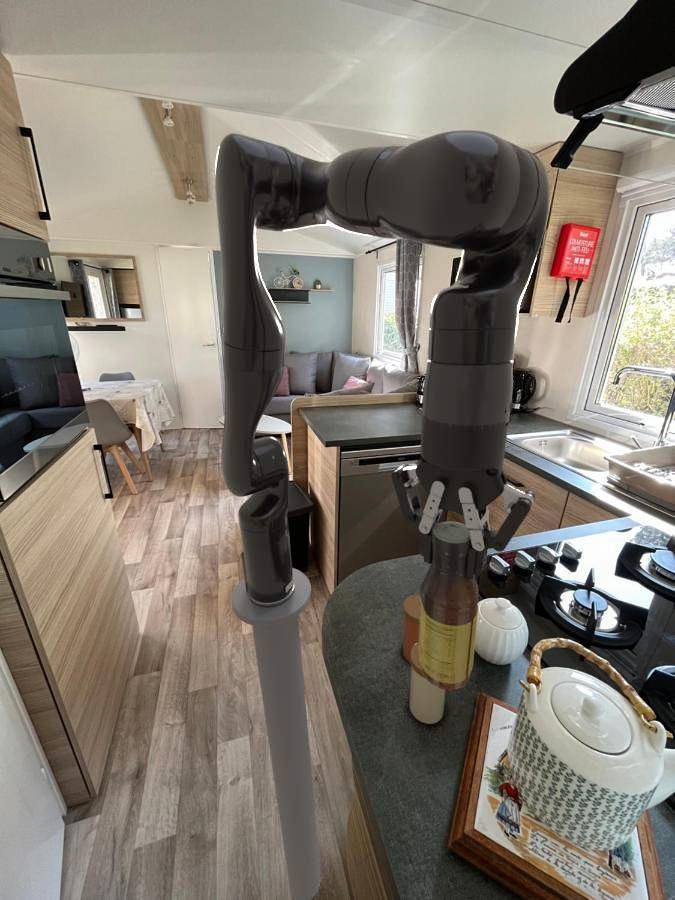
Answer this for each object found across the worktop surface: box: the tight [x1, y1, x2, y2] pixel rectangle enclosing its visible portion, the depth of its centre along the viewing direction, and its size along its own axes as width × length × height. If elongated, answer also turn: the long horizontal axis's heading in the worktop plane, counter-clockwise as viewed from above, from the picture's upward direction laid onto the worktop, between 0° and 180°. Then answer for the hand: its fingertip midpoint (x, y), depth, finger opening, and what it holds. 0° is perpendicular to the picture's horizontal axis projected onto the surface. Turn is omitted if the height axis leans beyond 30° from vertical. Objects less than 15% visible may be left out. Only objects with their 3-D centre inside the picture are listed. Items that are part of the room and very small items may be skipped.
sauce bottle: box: [419, 521, 480, 692], centre depth 42 cm, size 6×6×20 cm
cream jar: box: [408, 642, 447, 725], centre depth 55 cm, size 5×5×10 cm
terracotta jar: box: [402, 594, 420, 664], centre depth 64 cm, size 5×5×10 cm
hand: (451, 566), depth 40 cm, fingers closed on sauce bottle, 4 cm apart
